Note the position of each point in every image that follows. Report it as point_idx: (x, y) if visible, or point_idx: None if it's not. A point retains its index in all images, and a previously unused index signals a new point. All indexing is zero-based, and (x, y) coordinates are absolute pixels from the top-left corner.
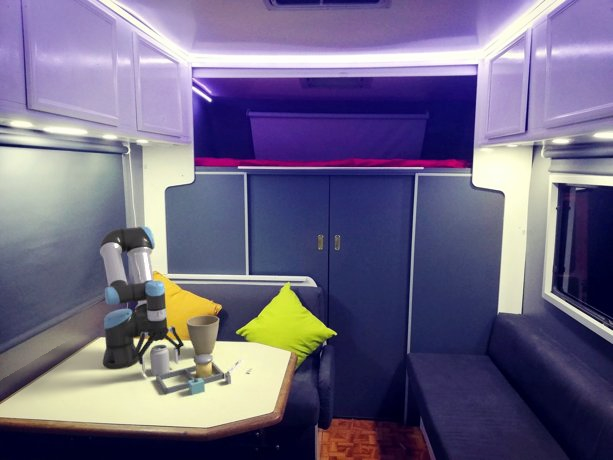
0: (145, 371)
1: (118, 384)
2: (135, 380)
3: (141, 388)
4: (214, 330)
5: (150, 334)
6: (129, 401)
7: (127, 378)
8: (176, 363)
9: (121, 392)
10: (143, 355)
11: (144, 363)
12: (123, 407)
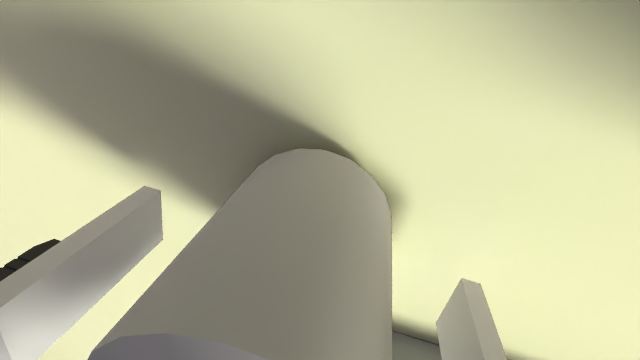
0: (160, 240)
1: (26, 127)
2: (134, 160)
3: (153, 274)
4: None
5: None
6: (89, 323)
7: (82, 81)
8: (438, 328)
9: (52, 232)
10: (2, 342)
11: (95, 297)
12: (67, 338)
